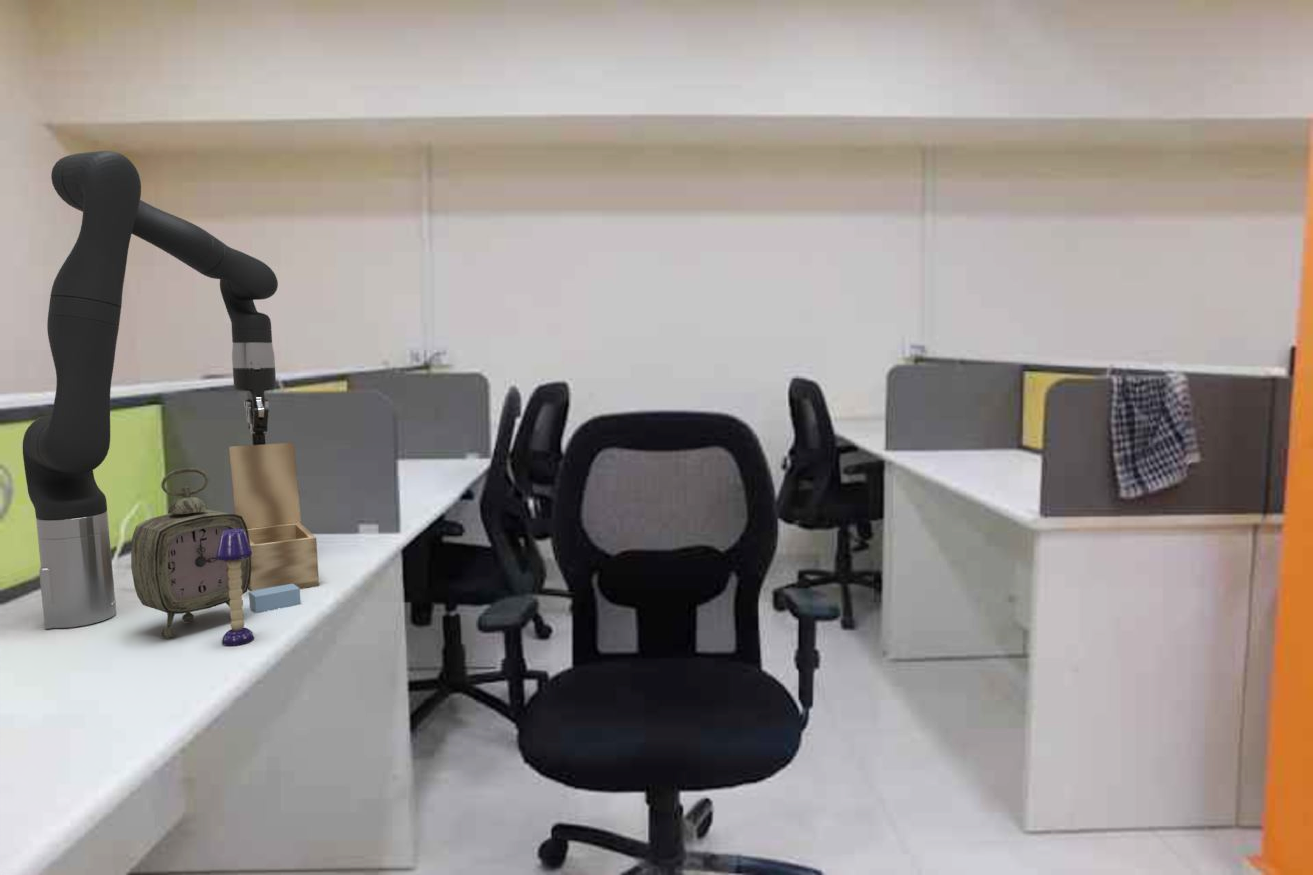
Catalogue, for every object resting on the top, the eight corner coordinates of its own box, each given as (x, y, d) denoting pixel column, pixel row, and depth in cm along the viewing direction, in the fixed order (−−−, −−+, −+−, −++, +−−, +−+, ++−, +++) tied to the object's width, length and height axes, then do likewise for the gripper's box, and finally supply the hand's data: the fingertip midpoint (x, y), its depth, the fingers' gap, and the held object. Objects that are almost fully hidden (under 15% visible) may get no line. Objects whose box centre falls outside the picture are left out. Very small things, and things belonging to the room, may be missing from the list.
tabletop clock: (160, 644, 117) (147, 476, 114) (131, 633, 122) (117, 472, 119) (255, 616, 129) (245, 464, 126) (225, 607, 134) (214, 460, 131)
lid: (229, 446, 152) (229, 447, 153) (236, 529, 152) (236, 529, 152) (293, 442, 159) (293, 442, 159) (301, 522, 158) (300, 522, 159)
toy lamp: (224, 636, 120) (217, 528, 118) (259, 632, 121) (252, 525, 119) (219, 647, 115) (211, 535, 113) (255, 643, 117) (247, 532, 115)
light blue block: (256, 614, 131) (255, 596, 130) (249, 608, 134) (248, 591, 133) (300, 605, 135) (299, 588, 135) (293, 600, 138) (292, 583, 138)
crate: (252, 596, 140) (249, 546, 139) (241, 575, 153) (237, 530, 152) (319, 585, 146) (316, 537, 145) (302, 566, 159) (299, 522, 158)
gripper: (228, 366, 160) (234, 451, 162) (237, 366, 149) (242, 457, 151) (269, 365, 165) (274, 448, 166) (280, 366, 154) (285, 454, 155)
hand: (259, 452), depth 159 cm, fingers closed
